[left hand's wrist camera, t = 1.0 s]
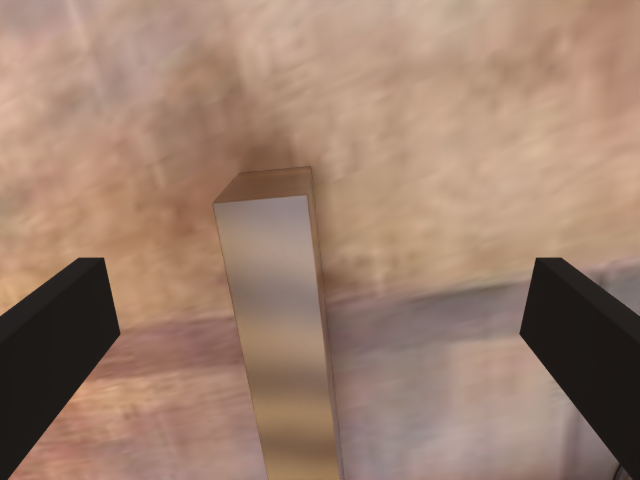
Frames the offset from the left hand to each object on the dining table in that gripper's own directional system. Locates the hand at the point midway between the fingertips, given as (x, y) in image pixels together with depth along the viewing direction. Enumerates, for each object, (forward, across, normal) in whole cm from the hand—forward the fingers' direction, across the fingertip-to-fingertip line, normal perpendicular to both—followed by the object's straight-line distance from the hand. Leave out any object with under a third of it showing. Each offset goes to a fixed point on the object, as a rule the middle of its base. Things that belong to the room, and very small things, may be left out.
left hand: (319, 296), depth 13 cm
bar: (+16, 0, -35) cm, 39 cm away
